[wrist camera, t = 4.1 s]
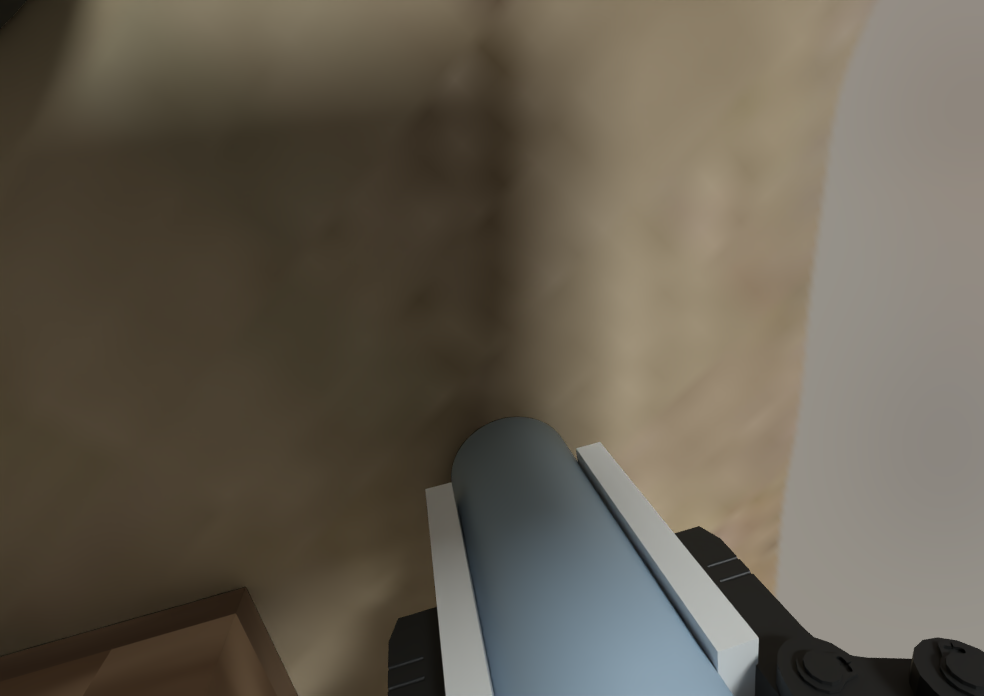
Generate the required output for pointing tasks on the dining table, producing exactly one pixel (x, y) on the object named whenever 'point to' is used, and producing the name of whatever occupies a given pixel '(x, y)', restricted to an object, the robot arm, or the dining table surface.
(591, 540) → the pin
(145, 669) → the socket block
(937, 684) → the robot arm
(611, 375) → the dining table surface
